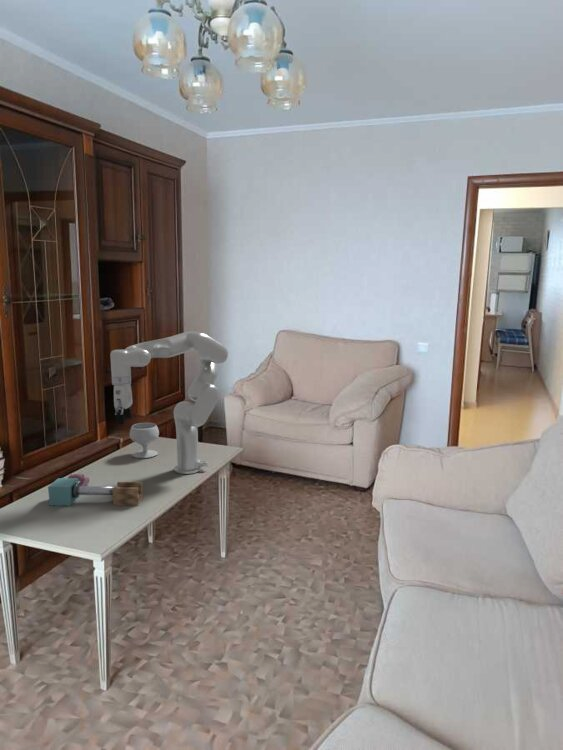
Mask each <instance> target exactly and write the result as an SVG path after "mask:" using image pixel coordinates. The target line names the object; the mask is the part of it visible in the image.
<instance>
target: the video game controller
mask: <svg viewBox="0 0 563 750" xmlns="http://www.w3.org/2000/svg"><path fill="white" fill-rule="evenodd" d="M67 478H78V484H80V486H88V484H90V478H89V476H87V475H85V474H84V473H72V474H69V475H68V476H67Z"/></svg>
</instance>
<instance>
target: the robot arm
mask: <svg viewBox="0 0 563 750" xmlns="http://www.w3.org/2000/svg"><path fill="white" fill-rule="evenodd" d="M192 351H193V352H197V354H198V355H197V356H198V358H199V362H200V365H199V366H200V367H199V370H198V371H197V374H196V376H195V378H194V380H193V381H192V383H191V384H190V385H189V388H188V390H187V396H188V398H189V399H190V400H192V401H193V402H191V401H184V400H183V401H180V402H178V403H176V405H175V406H174V409H173V419H174V423H175V432H176V433H175V434H176V459H177V460H176V461H177V462H176V463H177V464H175V466H174V467H173V471H174V472H175V473H178V474H180V475H181V474H182V475H190V474H195V473H198V472H199V473H200V472H201V471H202V470H203V468H204V467H205V468H207V467H209V462H208V461H206V460H201V458H200V457H199V434H198V433H199V430H198V428H199V427H201V426H203V425H204V424H205V423H206V422H207V420H208V419H209V417H210V415H211V413H212V412H213V410H214V409H215V407H216V405H217V403H218V401H219V396H220V393H219V389H218V388H217V386H216V385H214V383H215V381H216V380H217V378H218V374H219V372H218V371H219V368H218V365H219V364H223V363H224V362H226V361H227V360H228V356H229V352H228V351H229V350H228V349H227V347H225V346H224V345H223V344H222V343H220V342H219V341H217V340H216V339H214V338H212V337H211V336H209V335H208V334H206V333H204V332H199V331H194V330H193V331H192V330H191V331H184V332H181V333H178V334H175V335H174V334H173V335H172V336H168V337H164V338H159V339H153V340H148V341H143V342H140V343H136V344H133V345H129V346H128V347H126V348H125V349H113V350H111V351H110V354H109V355H110V372H111V385H112V386H113V406H114V417H115V425H124V424H125V419H131V418H132V409H131V407H132V405H133V401H134V400H133V391H132V385H131V384H132V371H131V370H132V369H131V367H133V368H134V367H137V368H138V367H139V368H142V367H145V366H147V365H149V364H150V362H151V359H155V358H157V359H158V358H161V359H164V358H165V359H166V358H172V357H173V358H174V357H176V356H178V355H181V354H182V355H183V354H185V353H188V352H192Z"/></svg>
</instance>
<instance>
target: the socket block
mask: <svg viewBox="0 0 563 750" xmlns="http://www.w3.org/2000/svg"><path fill="white" fill-rule="evenodd" d="M74 484H79V481H78V478H68V477H67V478H65V477H64V478H63V477H61V478H59V477H58V478H57V479H55V480H54V481H53V482H52V483H51V484H50V485H48V487H47V488H48V501H49V502H48V503H49V506H50V505H65V506H64V507H70V506H72V505H73V504H74V503H75V502H76V501H77V500H78V498H74V497H73V496H72V489H71V487H72V486H73V485H74ZM76 499H77V500H76ZM75 500H76V501H75ZM74 501H75V502H74ZM73 502H74V503H73ZM66 505H67V506H66Z"/></svg>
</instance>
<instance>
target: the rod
mask: <svg viewBox="0 0 563 750" xmlns="http://www.w3.org/2000/svg"><path fill="white" fill-rule="evenodd" d="M113 487H120V486H108V485H106V486H101V485H98V486H96V485H95V486H93V485H89V486H88V485H87V486H80V484H79V483H78V484H74V485H73V486H72V487H71V489H72V496H73V497H74V498H77V499H78V498H80V496H113Z"/></svg>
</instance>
